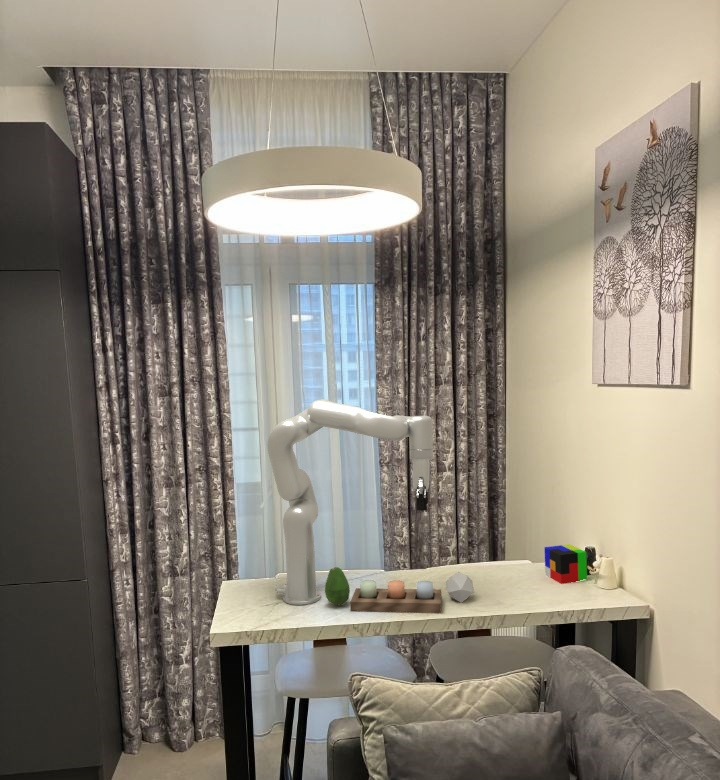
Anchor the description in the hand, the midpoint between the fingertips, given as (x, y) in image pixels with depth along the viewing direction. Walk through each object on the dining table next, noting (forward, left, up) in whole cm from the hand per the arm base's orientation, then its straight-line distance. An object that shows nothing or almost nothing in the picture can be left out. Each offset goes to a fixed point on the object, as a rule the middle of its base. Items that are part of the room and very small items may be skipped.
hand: (422, 506), depth 191 cm
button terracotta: (-9, -5, -27) cm, 29 cm away
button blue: (0, -5, -27) cm, 28 cm away
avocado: (-28, -6, -30) cm, 42 cm away
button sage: (-18, -5, -27) cm, 33 cm away
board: (-9, -5, -30) cm, 32 cm away
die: (+11, +1, -30) cm, 32 cm away
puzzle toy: (+48, +23, -31) cm, 61 cm away
